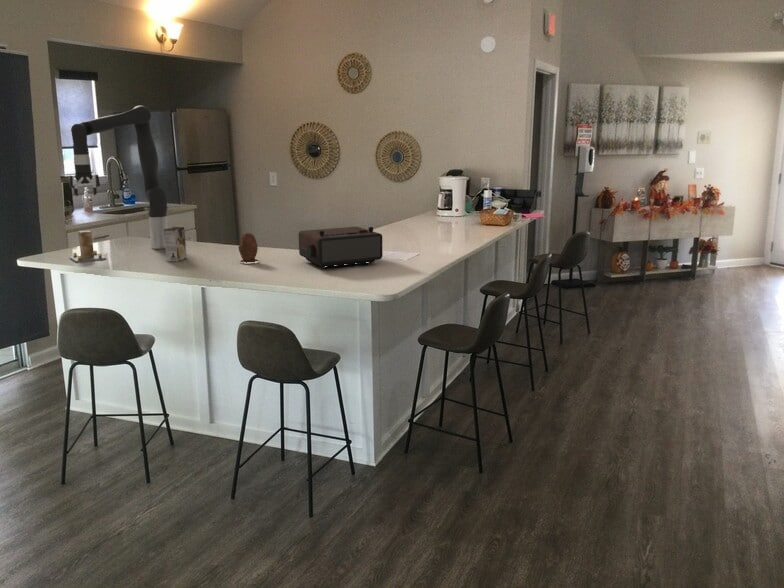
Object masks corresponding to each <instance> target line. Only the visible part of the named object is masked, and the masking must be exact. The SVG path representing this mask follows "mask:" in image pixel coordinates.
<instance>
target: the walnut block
mask: <svg viewBox="0 0 784 588" xmlns="http://www.w3.org/2000/svg"><path fill="white" fill-rule="evenodd" d="M77 234H78V239H79V240H78V241H79V250H80V252H79V253H80V255H81V257H82V258H92V257H94V251H95V250H94V243H93V233H92V231H91V230H78V231H77Z"/></svg>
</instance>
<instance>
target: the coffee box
mask: <svg viewBox="0 0 784 588" xmlns="http://www.w3.org/2000/svg"><path fill="white" fill-rule="evenodd" d="M164 238H165V248H164V249H165V258H166V262H170V261H178V262H180V261H179V260H181V261H183V260H185V259H184V258H186V259H187V248H186V247H187V246H186V244H187V243H186V236H185V227H184V226H171V227H168V228H167V229H164ZM182 259H183V260H182Z"/></svg>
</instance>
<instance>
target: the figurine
mask: <svg viewBox="0 0 784 588" xmlns="http://www.w3.org/2000/svg"><path fill="white" fill-rule="evenodd" d="M240 238H241V239H240V241H241V243H239V245H238V252H239V254H240V257H241V260H240V262H246V263H247V262H255V261H259V259H256V256H257V254H258V249H259V248H258V243H257V239H256V237H255V235H254V234H253V233H251V232H245V233H243V234H242V236H241V237H240ZM240 262H239V263H240Z"/></svg>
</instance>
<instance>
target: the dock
mask: <svg viewBox="0 0 784 588" xmlns="http://www.w3.org/2000/svg"><path fill="white" fill-rule="evenodd" d="M93 251H94V257H92V258H82V257H81V254H80V255H77V254H78V253H77V252H73V253H72V254H73V255H71V256H69V259H70V260H71V259H72V260H71V261H73V262H74V261H75V262H74V263H76V264H78V262H80V263H87V261H89V262H96V260H98V261H105V260H104V259H106V260H107V257H106V256H104V255H103V254H102V253H101V252H100V253H98V252H97V250H93Z"/></svg>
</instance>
